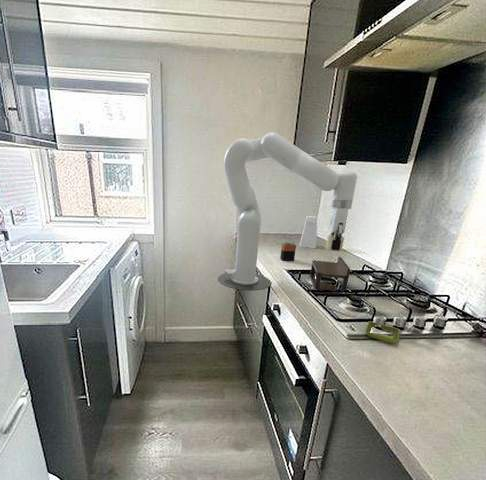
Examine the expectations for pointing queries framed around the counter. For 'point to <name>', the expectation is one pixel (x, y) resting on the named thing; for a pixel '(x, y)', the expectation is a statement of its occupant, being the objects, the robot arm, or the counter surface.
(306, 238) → the grater
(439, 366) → the counter surface
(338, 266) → the rack
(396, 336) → the green square frame
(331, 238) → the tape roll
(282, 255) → the battery
